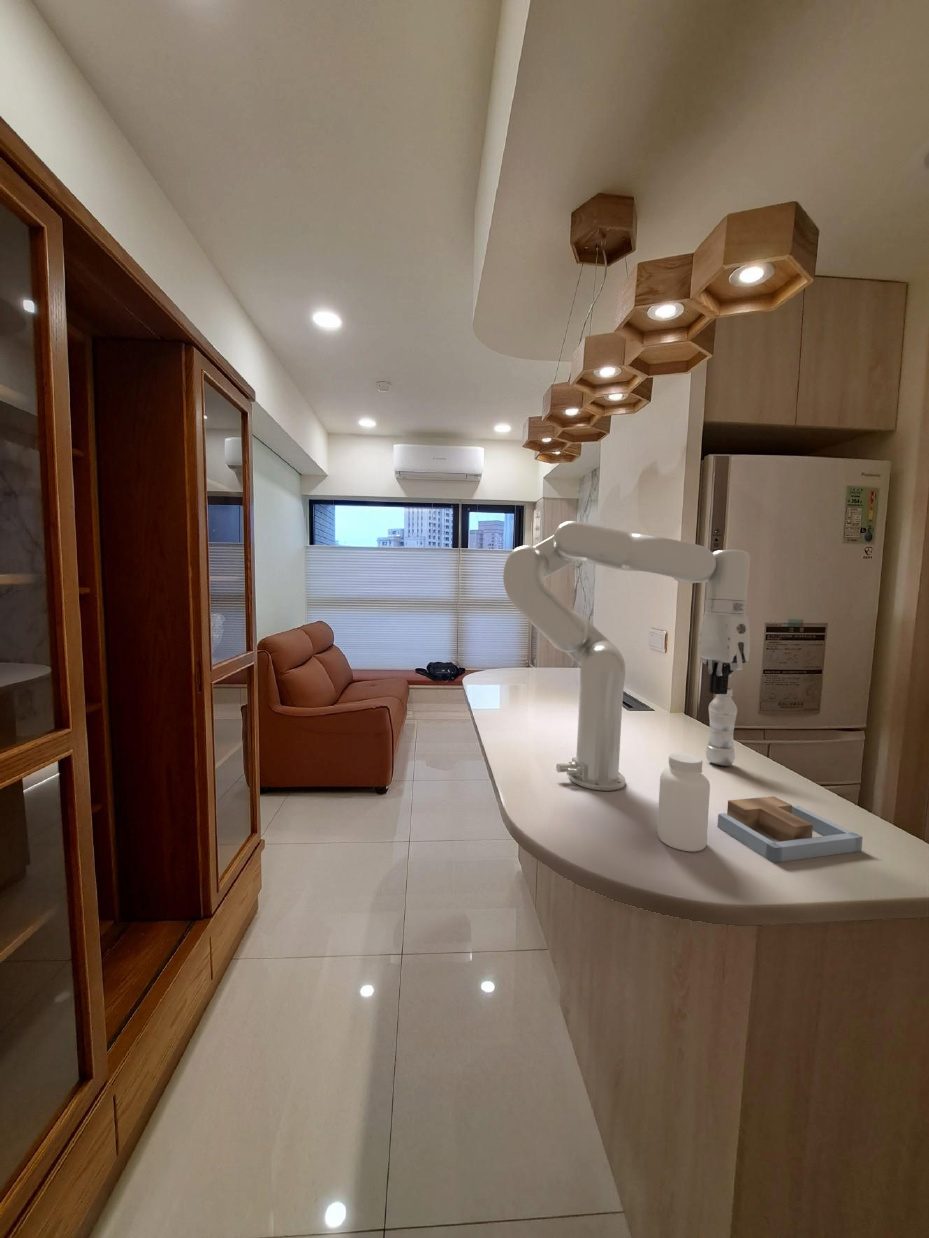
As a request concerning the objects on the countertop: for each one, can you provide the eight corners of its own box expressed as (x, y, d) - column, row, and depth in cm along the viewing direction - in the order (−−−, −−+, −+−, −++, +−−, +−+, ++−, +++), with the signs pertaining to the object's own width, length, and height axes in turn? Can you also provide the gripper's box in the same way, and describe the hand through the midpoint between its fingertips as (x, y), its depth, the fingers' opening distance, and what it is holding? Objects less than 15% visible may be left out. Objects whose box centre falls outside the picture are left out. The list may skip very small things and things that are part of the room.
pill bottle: (649, 828, 87) (654, 748, 86) (693, 830, 87) (699, 750, 86) (666, 851, 79) (672, 764, 78) (715, 854, 79) (721, 767, 78)
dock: (773, 862, 77) (774, 848, 77) (717, 826, 89) (718, 813, 88) (861, 850, 82) (862, 836, 82) (797, 817, 93) (798, 805, 93)
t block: (776, 851, 81) (778, 828, 80) (726, 820, 91) (728, 800, 91) (826, 844, 83) (828, 823, 83) (772, 815, 94) (773, 796, 94)
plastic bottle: (738, 770, 118) (743, 691, 117) (709, 767, 120) (714, 689, 119) (729, 761, 125) (734, 686, 124) (701, 758, 126) (706, 684, 125)
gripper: (769, 611, 94) (761, 701, 95) (714, 607, 108) (708, 686, 110) (737, 609, 92) (729, 701, 93) (686, 606, 107) (679, 686, 108)
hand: (718, 693), depth 101 cm, fingers closed
